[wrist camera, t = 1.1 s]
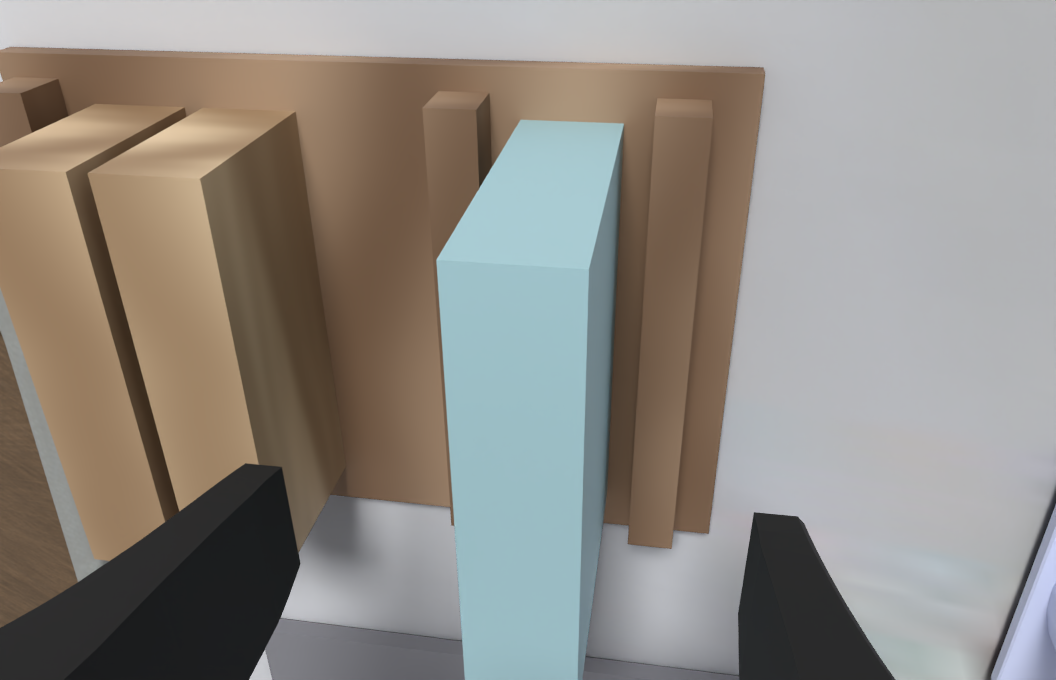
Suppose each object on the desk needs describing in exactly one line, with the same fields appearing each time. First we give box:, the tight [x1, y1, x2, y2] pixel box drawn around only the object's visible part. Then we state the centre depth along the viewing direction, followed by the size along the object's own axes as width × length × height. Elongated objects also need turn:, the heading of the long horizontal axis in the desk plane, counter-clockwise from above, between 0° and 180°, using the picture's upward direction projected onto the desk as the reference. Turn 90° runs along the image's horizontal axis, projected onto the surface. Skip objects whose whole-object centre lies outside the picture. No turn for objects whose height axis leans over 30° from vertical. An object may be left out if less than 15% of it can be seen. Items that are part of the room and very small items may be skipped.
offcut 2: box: [88, 108, 346, 553], centre depth 18 cm, size 2×9×4 cm, turn 1°
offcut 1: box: [0, 104, 186, 561], centre depth 19 cm, size 2×9×4 cm, turn 1°
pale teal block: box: [436, 120, 624, 680], centre depth 16 cm, size 2×9×6 cm, turn 1°
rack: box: [0, 47, 765, 549], centre depth 19 cm, size 16×11×2 cm
